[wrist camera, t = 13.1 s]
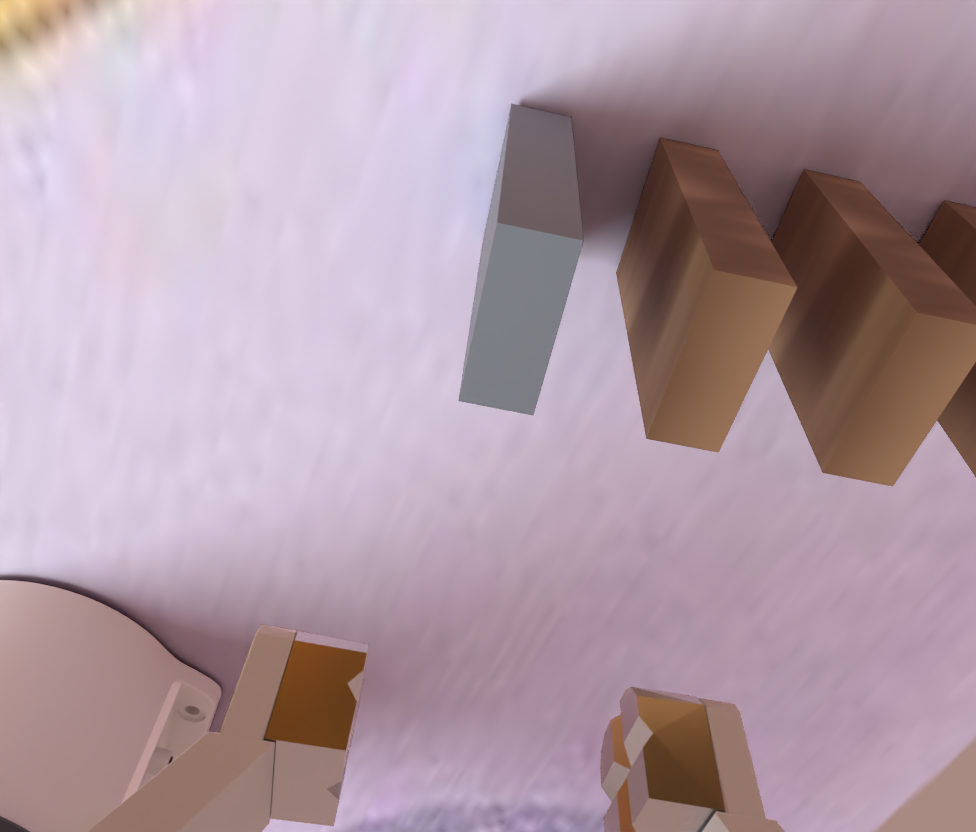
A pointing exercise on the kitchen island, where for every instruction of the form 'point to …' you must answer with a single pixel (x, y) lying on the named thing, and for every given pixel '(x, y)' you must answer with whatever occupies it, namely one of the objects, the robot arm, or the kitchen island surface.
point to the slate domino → (524, 263)
